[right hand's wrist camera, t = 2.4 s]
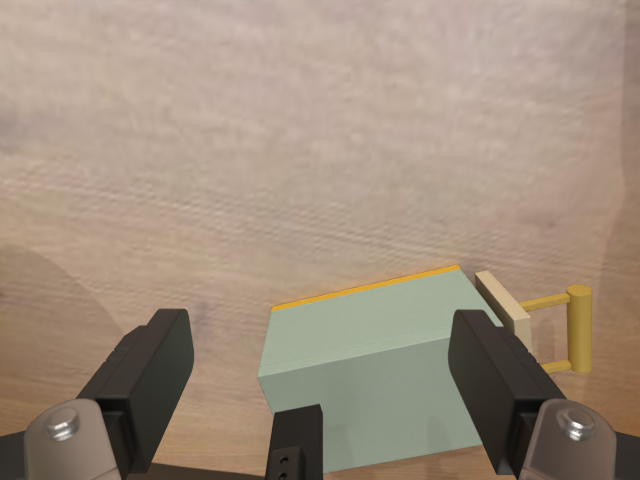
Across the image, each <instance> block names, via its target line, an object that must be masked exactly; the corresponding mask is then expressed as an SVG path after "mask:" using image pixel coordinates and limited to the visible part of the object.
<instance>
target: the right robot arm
mask: <svg viewBox="0 0 640 480" xmlns="http://www.w3.org/2000/svg"><path fill="white" fill-rule="evenodd" d="M193 364H194V348H193V342H192V335H191V328H190V322H189V315H188V312H187V310H186V309H159V310H157V312H156V313H155V314H154V316H153V317H152V318H151V320H150V321H149V323H148V324H147V325H146V326H138V327H137V328H135V329H134V330H133V331H131V332H130V333H128V334H127V335H125V336H124V337H123V338H122V340H121V341H120V342H119V344H118V345H117V346H116V347H115V349H114V351H112V353H111V354H110V355H109V356H108V358H107V359H106V362H104V363H103V364H102V365H101V367H100V368H99V369H98V370H97V372H96V373H95V374H94V376H93V377H92V378H91V379H90V381H89V382H88V383H87V385H86V386H85V387H84V388H83V390H82V391H81V392H80V394H79V395H78V396H77V397H76V399H73V400H69V401H65V402H62V403H59V404H57V405H55V406H53V407H51V408H49V409H47V410H46V411H44V412H43V413H41V414H40V415H39V416H38V417H36V418H35V419H34V420H33V421H32V423H31V424H30V425H29V426H28V428H27V429H26V431H22V432H18V433H14V434H10V435H6V436H1V437H0V480H126V478H127V476H128V474H129V473H147V470H148V468H149V466H150V464H151V461H152V459H153V457H154V455H155V453H156V450H157V448H158V446H159V444H160V441H161V439H162V437H163V435H164V432H165V430H166V428H167V426H168V424H169V421H170V419H171V417H172V415H173V412H174V410H175V408H176V406H177V403H178V401H179V399H180V397H181V395H182V392H183V390H184V388H185V386H186V383H187V381H188V379H189V377H190V375H191V372H192V369H193ZM448 365H449V370H450V373H451V375H452V378H453V380H454V382H455V384H456V386H457V389H458V391H459V393H460V395H461V397H462V400H463V402H464V404H465V406H466V408H467V411H468V413H469V415H470V417H471V419H472V422H473V424H474V426H475V428H476V430H477V433H478V435H479V437H480V439H481V441H482V444H483V446H484V448H485V450H486V452H487V455H488V457H489V459H490V461H491V463H492V466H493V468H494V470H495V472H496V474H497V475H515V477H516V479H517V480H640V437H636V436H632V435H628V434H624V433H620V432H616V431H614V429H613V428H612V426H611V425H610V424H609V423H608V421H607V420H606V419H605V418H604V417H602V416H601V415H600V414H599V413H597V412H596V411H594V410H593V409H591V408H589V407H587V406H585V405H583V404H581V403H578V402H575V401H571V400H567V398H566V397H565V396H564V395H563V393H562V392H561V391H560V389H559V388H558V387H557V386H556V384H555V383H554V382H553V381H552V379H551V378H550V377H549V376H548V374H547V373H546V372H545V370H544V369H543V368H542V367H541V365H540V364H539V363H537V362H536V359H535V358H534V357H533V355H532V354H531V353H530V352H528V349H527V348H526V346H525V345H524V344H523V343H522V341H521V340H520V339H519V337H517V336H516V335H514V334H513V333H512V332H510V331H509V330H507V329H506V328H504V327H503V326H495V324H494V323H493V322H492V320H491V319H490V317H489V316H488V315H487V313H486V312H485V311H484V310H482V309H457V310H456V311H455V313H454V316H453V322H452V329H451V335H450V342H449V349H448Z"/></svg>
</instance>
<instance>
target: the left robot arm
mask: <svg viewBox="0 0 640 480" xmlns="http://www.w3.org/2000/svg"><path fill="white" fill-rule="evenodd" d="M265 480H323V412H322V409H321V406H320V404H316V405H311V406H305V407H300V408H295V409H290V410H285V411H280V412H275V413H274V420H273V426H272V433H271V440H270V447H269V453H268V460H267V467H266V474H265Z"/></svg>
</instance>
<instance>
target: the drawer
mask: <svg viewBox="0 0 640 480" xmlns="http://www.w3.org/2000/svg"><path fill="white" fill-rule="evenodd" d="M475 279H476V287H477V291H478V293H479V294H480V295H481V296H482V298H483V299H484V300H485V302H486V303H487V304H488V306H489V307H490V308H491V310H492V311H493V312H494V313H495V315H496V316H497V318H498V319H499V320H500V322H501V323H502V324H503V326H504V328H506V329H507V330H509V331H510V332H512V333H513V334H514V335H516V336H517V337H519V339H520V340H521V341H522V343H523V344H524V345H525V346H526V348H527V349H528V352H530V353H531V354H532V355H533V349H532V333H531V318H530V316H529V315H528V314H527V313H526V311H530V310H535V309H540V308H545V307H549V306H554V305H559V304H564V303H567V337H568V360H563V361H558V362H553V363H548V364H543V365H541V367H542V368H543V369H544V370H545V372H546V373H547V374H548V373H554V372H559V371H564V370H569V369H571V370H573V371H574V372H577V373H588V372H590V371H591V369H592V290H591V288H590V287H588V286H585V285H580V284H576V285H571V286H569V287H568V288H567V289H566V293H562V294H557V295H552V296H548V297H543V298H538V299H534V300H529V301H524V302H520V303H517V302H516V300H515V299H514V298H513V297H512V296H511V295H510V294H509V293H508V292H507V291H506V289H505V288H504V287H503V286H502V285H501V284H500V283H499V282H498V281H497V279H496V278H495V277H494V276H493V275H492V274H491V273H490V272H489V271H488V270H486V271H482V272H477V273H475Z"/></svg>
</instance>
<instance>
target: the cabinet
mask: <svg viewBox="0 0 640 480" xmlns="http://www.w3.org/2000/svg"><path fill="white" fill-rule="evenodd" d="M457 309H482V310H484V311H485V312H486V313H487V315H488V316H489V317H490V319H491V320H492V322H493V323H494V324H495V326H503V324H502V323H501V322H500V320H499V319H498V318H497V316H496V315H495V313H494V312H493V311H492V310H491V308H490V307H489V306H488V304H487V303H486V302H485V300H484V299H483V298H482V296H481V295H480V294H479V293H478V291H477V290H476V289H475V287H474V286H473V285H472V283H471V282H470V281H469V279H468V278H467V277H466V276H465V274H464V273H463V272H462V270H461V268H460V267H459V266H458V265H454V266H449V267H445V268H440V269H436V270H432V271H427V272H423V273H418V274H414V275H409V276H405V277H401V278H396V279H392V280H387V281H383V282H379V283H374V284H370V285H365V286H361V287H357V288H352V289H348V290H343V291H339V292H334V293H330V294H326V295H321V296H317V297H312V298H308V299H304V300H299V301H295V302H290V303H286V304H282V305H277V306H273V307H272V309H271V315H270V320H269V324H268V329H267V334H266V338H265V343H264V347H263V352H262V357H261V361H260V366H259V371H258V376H257V378H258V380H259V383H260V385H261V388H262V390H263V393H264V395H265V397H266V400H267V402H268V405H269V407H270V410H271V412H272V415H273V417H274V413H275V412H280V411H285V410H290V409H295V408H300V407H305V406H311V405H316V404H320V406H321V409H322V412H323V473H329V472H334V471H340V470H345V469H351V468H356V467H362V466H367V465H373V464H378V463H384V462H389V461H395V460H400V459H406V458H411V457H417V456H422V455H428V454H433V453H439V452H444V451H450V450H455V449H461V448H466V447H472V446H477V445H483V444H482V441H481V439H480V437H479V435H478V433H477V430H476V428H475V426H474V424H473V422H472V419H471V417H470V415H469V413H468V411H467V408H466V406H465V404H464V402H463V400H462V397H461V395H460V393H459V391H458V389H457V386H456V384H455V382H454V380H453V378H452V375H451V373H450V370H449V365H448V349H449V342H450V335H451V329H452V322H453V316H454V313H455V311H456V310H457ZM503 327H504V326H503Z"/></svg>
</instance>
